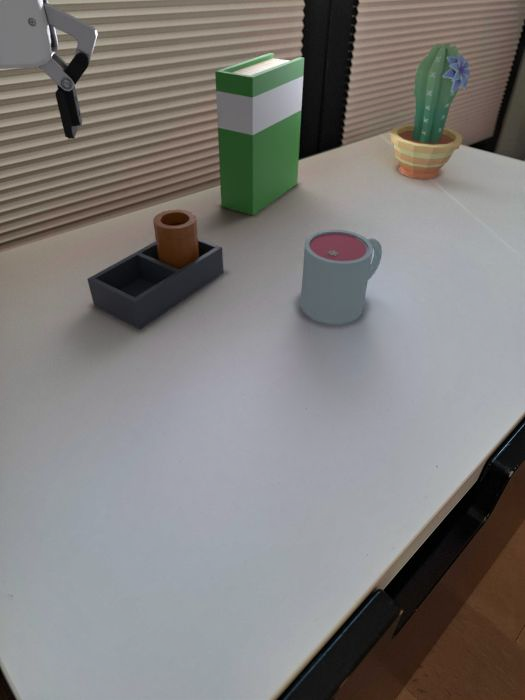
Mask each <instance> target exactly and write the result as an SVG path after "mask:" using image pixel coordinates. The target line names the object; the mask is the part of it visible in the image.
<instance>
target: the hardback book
mask: <svg viewBox="0 0 525 700" xmlns="http://www.w3.org/2000/svg"><path fill="white" fill-rule="evenodd" d="M304 70H305V57H301V56H299V57H297V58H294V59H292V60H290V59H289V60H287V59H281V58H275V53H273V52H268V53H265V54H262V55H260V56H256V57H253V58H250V59H248V60H245V61H241V62H239V63H236V64H232V65H230V66H227V67H224V68H221V69H218V70H215V71H214V72H215V74H214V76H215V94H216V95H215V97H216V115H217V116H216V117H217V118H216V119H217V139H218V140H217V141H218V162H219V183H220V184H219V185H220V186H219V187H220V206H221V207H222V208H226V209H229V210H233V211H237V212H240V213H243V214H247V215H250V216H255V215H256V214H257V213H258V212H260V211H262V210H263V209H264V208H266V207H267V206H268V205H270V204H271V203H272V202H274V201H275V200H277V199H278V198H280V197H281V196H282V195H284V194H285V193H287V192H289V191H290V190H291V189H292V188H294V187H295V186H297V185H298V179H299V178H298V177H299V175H298V174H299V161H300V160H299V159H300V144H301V143H300V142H301V126H302V125H301V124H302V106H303V90H304V89H303V88H304V72H305V71H304Z"/></svg>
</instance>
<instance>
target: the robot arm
mask: <svg viewBox="0 0 525 700" xmlns="http://www.w3.org/2000/svg"><path fill="white" fill-rule="evenodd" d="M57 30H59V31H60V32H62V33H65V34H66V35H69V36H71V37H72V38H74V39H75V40H76V42H77V46H76V49H75V54H74V56H73V58H72V59H71V60H70V62H69V63H67V62H66V61H65V60H64V59H63V58H62V57H61V56H60V55H59V54H58V53H57V51H58V50H59V41H58V34H57ZM97 37H98V30H97V28H96V27H95V26H92V25H90V24H89V23H87V22H85V21H83V20H82V19H79V18H78V17H75V16H73V15H72V14H70V13H68V12H65V11H64V10H62V9H59V8H58V7H56V6H54V5H52V4H50V3H49V0H0V70H6V69H8V70H9V69H30V68H39V69H41V70H42V71H43V73H45V74H46V75H47V76H48V77H49V78H50V80H52V81H53V82H54V83H55V84H56V85H57V87H56V88H57V90H56V91H55V99H56V103H57V107H58V112H59V116H60V119H61V125H62V128H63V133H64V136H65V138H67V139H68V140H70V139H71V140H72V139H73V140H75V138H76V135H77V132H78V127H82V125H83V117H82V113H81V108H80V103H79V100H78V94H77V91H76V90H77V89H76V84H77V83H78V81H79V80H80V79H81V77H82V76H83V74H84V73H85V72H86V71H87V69H88V68H89V65H90V63H91V59H92V55H93V52H94V49H95V45H96V42H97Z"/></svg>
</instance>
